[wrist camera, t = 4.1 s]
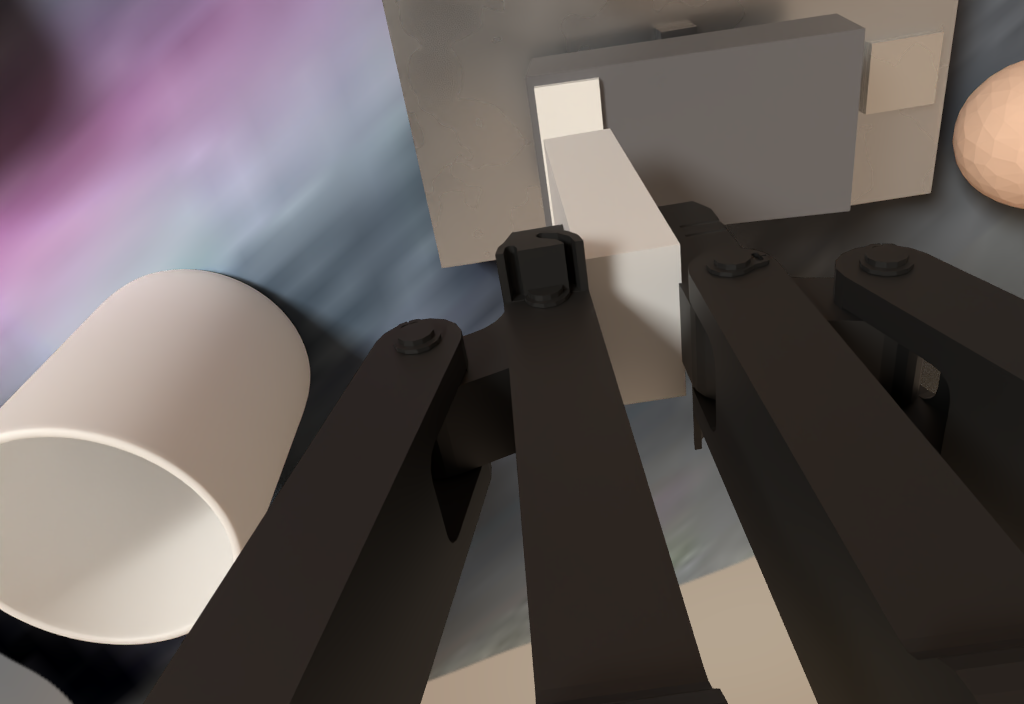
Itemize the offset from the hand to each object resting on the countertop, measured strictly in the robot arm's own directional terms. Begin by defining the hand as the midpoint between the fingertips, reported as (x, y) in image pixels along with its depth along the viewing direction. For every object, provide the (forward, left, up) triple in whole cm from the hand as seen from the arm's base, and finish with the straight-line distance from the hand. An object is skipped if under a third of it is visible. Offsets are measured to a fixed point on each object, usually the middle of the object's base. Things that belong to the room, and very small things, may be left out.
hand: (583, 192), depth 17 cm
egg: (+15, -3, -9) cm, 17 cm away
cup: (-16, -8, -9) cm, 20 cm away
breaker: (+3, 0, -5) cm, 6 cm away
